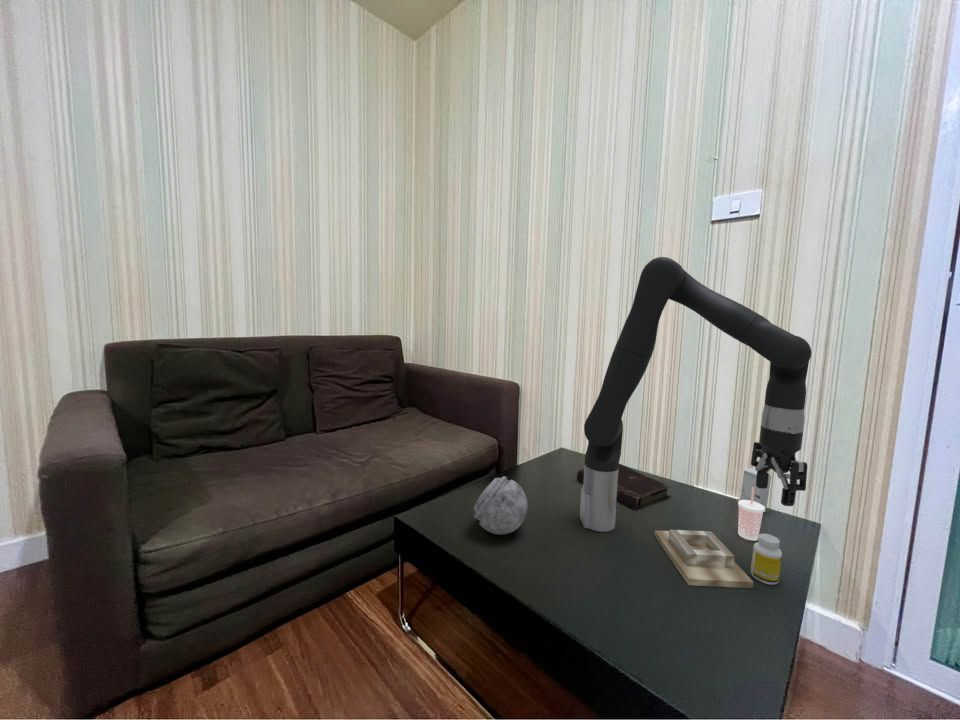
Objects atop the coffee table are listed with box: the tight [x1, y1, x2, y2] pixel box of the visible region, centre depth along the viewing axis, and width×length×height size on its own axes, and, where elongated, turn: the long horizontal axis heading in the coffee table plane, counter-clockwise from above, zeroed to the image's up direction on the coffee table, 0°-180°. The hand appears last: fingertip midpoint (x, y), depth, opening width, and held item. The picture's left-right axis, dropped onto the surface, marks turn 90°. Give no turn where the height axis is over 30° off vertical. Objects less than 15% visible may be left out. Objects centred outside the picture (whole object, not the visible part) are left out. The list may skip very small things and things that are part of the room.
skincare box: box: [739, 467, 772, 513], centre depth 126 cm, size 6×4×12 cm
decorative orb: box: [473, 476, 529, 536], centre depth 110 cm, size 15×14×15 cm
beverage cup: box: [737, 487, 765, 541], centre depth 110 cm, size 6×6×14 cm
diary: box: [576, 463, 673, 511], centre depth 139 cm, size 19×25×5 cm
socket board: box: [653, 529, 754, 589], centre depth 100 cm, size 14×20×4 cm
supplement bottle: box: [750, 533, 783, 586], centre depth 93 cm, size 5×5×10 cm
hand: (773, 496), depth 91 cm, fingers open, 8 cm apart
